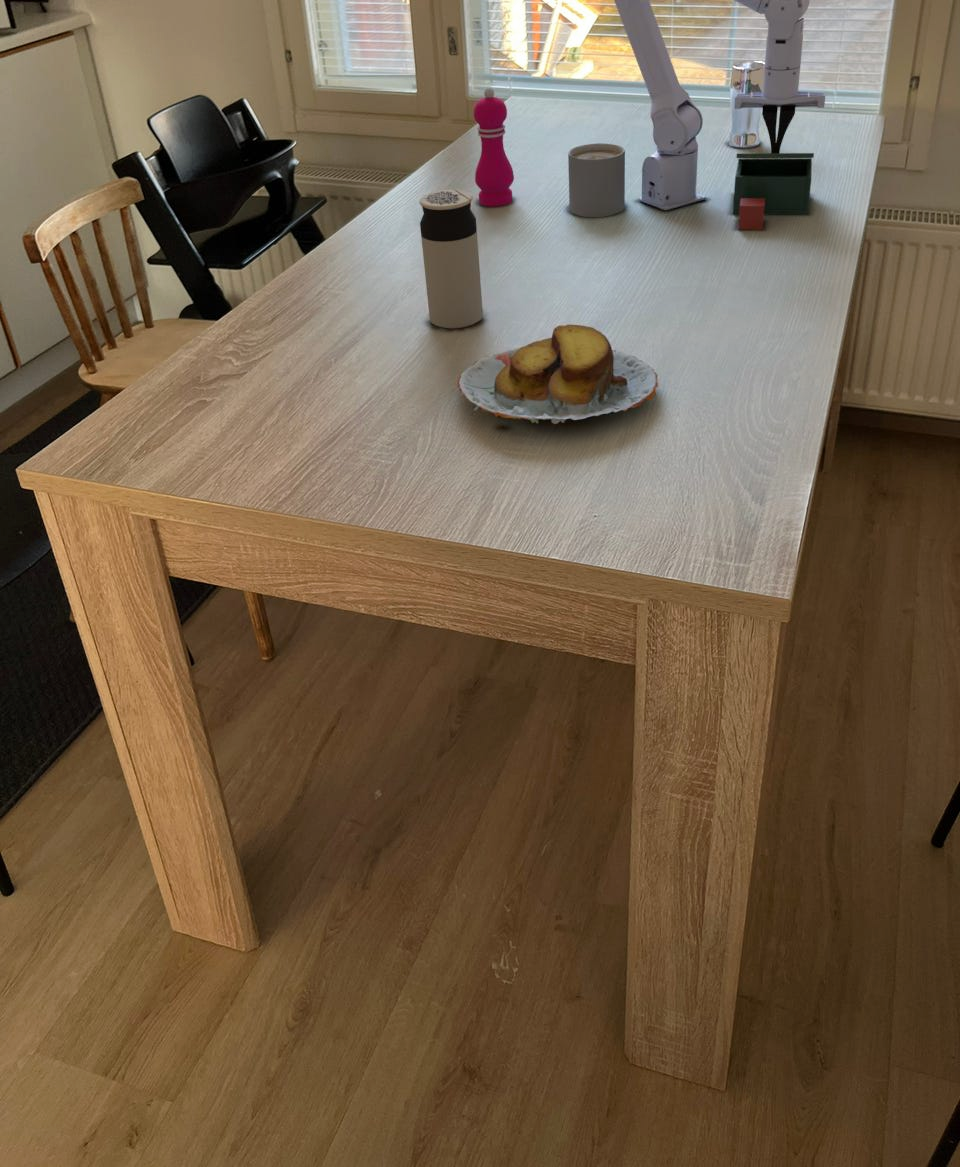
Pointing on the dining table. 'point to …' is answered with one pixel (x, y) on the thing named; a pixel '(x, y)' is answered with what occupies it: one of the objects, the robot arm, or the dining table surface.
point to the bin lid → (775, 155)
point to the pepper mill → (492, 152)
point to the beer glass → (745, 120)
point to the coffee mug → (596, 180)
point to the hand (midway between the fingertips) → (775, 151)
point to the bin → (775, 184)
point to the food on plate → (559, 378)
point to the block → (751, 213)
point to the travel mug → (451, 259)
